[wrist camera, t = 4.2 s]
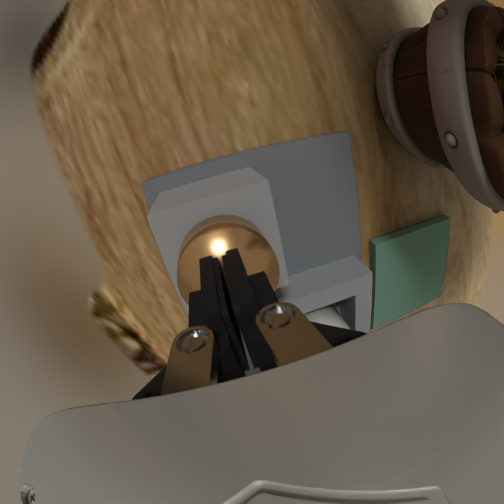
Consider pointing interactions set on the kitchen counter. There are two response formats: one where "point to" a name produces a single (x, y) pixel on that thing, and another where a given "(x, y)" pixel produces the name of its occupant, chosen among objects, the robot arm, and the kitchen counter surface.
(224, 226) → the plunger
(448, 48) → the flowerpot
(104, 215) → the kitchen counter surface
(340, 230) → the grey base with tray
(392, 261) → the mat
